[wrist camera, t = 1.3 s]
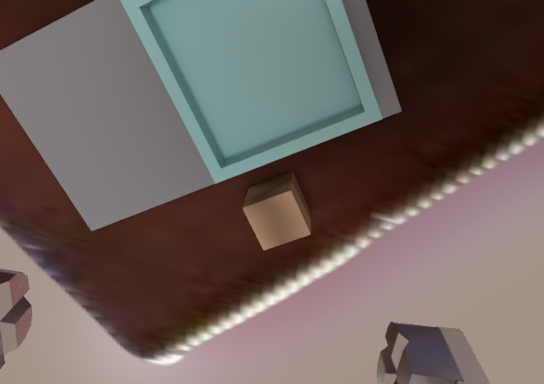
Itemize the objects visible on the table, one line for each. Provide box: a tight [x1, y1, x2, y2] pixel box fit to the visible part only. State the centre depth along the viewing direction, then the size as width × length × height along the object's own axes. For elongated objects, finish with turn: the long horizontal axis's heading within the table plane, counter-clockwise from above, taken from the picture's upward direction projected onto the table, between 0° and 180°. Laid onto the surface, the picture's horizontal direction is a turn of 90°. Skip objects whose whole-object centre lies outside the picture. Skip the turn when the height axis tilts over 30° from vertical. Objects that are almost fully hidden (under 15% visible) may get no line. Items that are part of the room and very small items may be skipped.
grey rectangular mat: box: [0, 0, 402, 231], centre depth 38 cm, size 32×18×1 cm, turn 114°
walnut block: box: [243, 171, 311, 250], centre depth 40 cm, size 4×4×4 cm
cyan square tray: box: [120, 0, 382, 184], centre depth 34 cm, size 14×15×5 cm
